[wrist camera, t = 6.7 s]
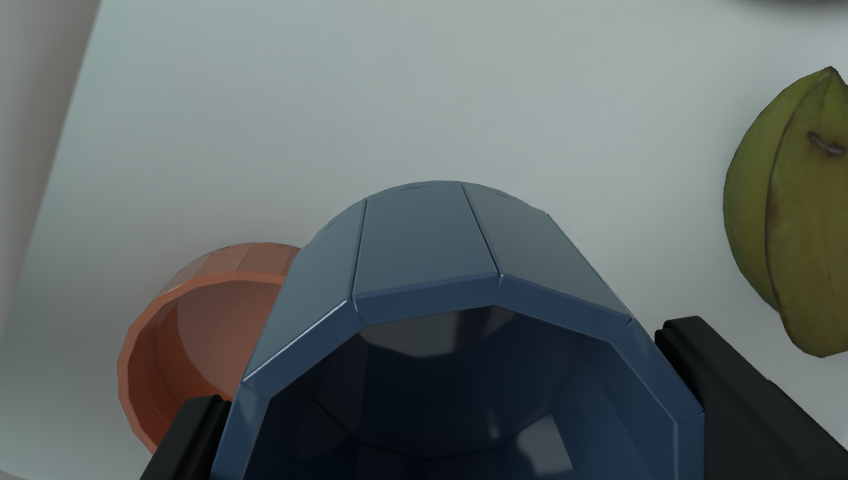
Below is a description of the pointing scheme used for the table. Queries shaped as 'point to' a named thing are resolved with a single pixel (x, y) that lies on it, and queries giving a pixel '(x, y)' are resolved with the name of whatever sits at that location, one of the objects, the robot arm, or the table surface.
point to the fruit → (796, 210)
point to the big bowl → (198, 334)
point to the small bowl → (455, 356)
